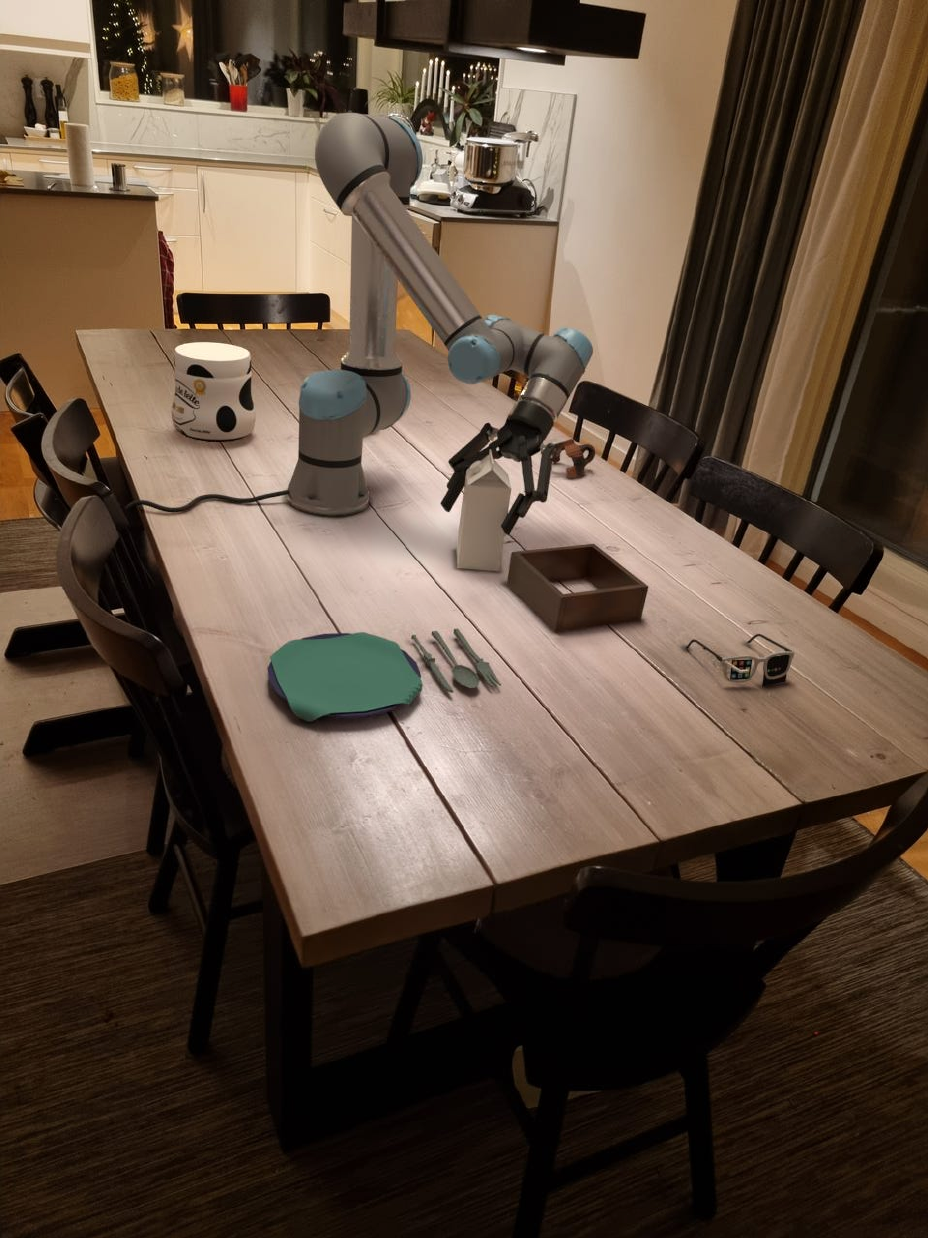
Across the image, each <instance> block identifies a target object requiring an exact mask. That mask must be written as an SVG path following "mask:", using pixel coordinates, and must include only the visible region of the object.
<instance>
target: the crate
mask: <svg viewBox="0 0 928 1238" xmlns="http://www.w3.org/2000/svg"><path fill="white" fill-rule="evenodd" d="M582 579H586V580H588V581H589V582H590V583H591V584H593V586H595V587H596V589H592V590H584V591H576V592H570V593H569V592H567V593H563V592H562V591H561V589H560V590H559V588H557V587H556V586H555V585H554V584H553V583H556V582H557V583H558V582H564V581H565V582H566V581H573V580H582ZM506 586H507V587H508V588H509V589H510V590H511V591H512V592H514V594H515V595H516V596H518V597H519V599H521V601H522V602H524V603H525V604H526V605H527V606H528V607H529V608H530V610H531V611H532V612H534V613H535V614H536V615H537V616H538V617H539V618H540V619H541V620H542V621H543V622H544V623H545V624H546V625H547V627H549V628H550V629H551V630H552V631H553V632H554V633H559V632H567V631H573V630H579V629H588V628H594V627H600V626H607V625H615V624H622V623H629V622H635V621H641V620H642V617H643V612H644V608H645V603H646V599H647V595H648V591H649V586H648V585H647V584H646V583H645V582H643V581H642V580H641V579H640V578H638V577H637V576H636V575H635V574H633V573H632V572H630V571H629V569H628V568H626V567H624V566H623V565H622V564H621V563H619V562H618V561H617V560H615V558H613V557H612V556H611V555H609V554H608V553H607V552H606V551H604V550H603V549H602V548H600V547H599V546H597V544H595V543H586V544H576V545H568V546H567V545H566V546H557V547H547V548H546V547H545V548H536V549H525V550H517V551H511V552H510V559H509V565H508V572H507V577H506Z"/></svg>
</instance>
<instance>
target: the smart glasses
mask: <svg viewBox="0 0 928 1238" xmlns="http://www.w3.org/2000/svg"><path fill="white" fill-rule="evenodd" d="M757 637H760V638H762V639H764V640H766V641H767V642H769V643H771V644H772V645H775V646H777V647H778V648H780V649H782V650H783V651H777V652H772V653H769V654H767V655H765V656H764V657H756V656H754V655H749V654H747V655H733V656H728V657H722V656H721V655H719V654H718V653H716V652H715V651H713V650H712V649H710V648H709V647H707V646H706V645H705V644H703V643H702V642H700V641H699V640H697V639H692V640H690V641H689V643H688V644H687V646H685V649H686V650H688V649H689V648H690V647H691V645H692V644H693V643H696V644H697V645H699V646H700V647H701V648H702V650H704V651H707V652H709V653H710V654H712V655H713V657H715V658H716V659H717V660H718V661H719V662H720V663H721V665H722V671H723V672H722V673H723V677H724V679H725V680H726V681H727V682H731V683H746V682H749V681H750V680H751V679H753V677H754V676H755V674H756V671H757V669H758V665H759V664H760V663H763V664H762V667H763V668H762V671H763V675H762V683H761V687H767V686H773V685H778V684H783V683H786V681H787V675H788V672H789V670H790V667H791V665H792V662H793V659H794V658H795V651H793V650H791V649H789V648H787V647H786V646H784V645H783V644H781V643H778V642H776V641H775V640H773V639H771V638H769V637H768V636H765V635H764V634H762V633H756V634H754V635H753V636H752V637H751V638H749V640H748V641H746V644H750V643H752V642H753V641H754V640H755V639H756V638H757ZM730 661H731V663H730ZM728 667H730V674H729V676H728V671H727V669H728Z"/></svg>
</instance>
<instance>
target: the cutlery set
mask: <svg viewBox="0 0 928 1238" xmlns="http://www.w3.org/2000/svg"><path fill="white" fill-rule="evenodd" d="M453 635H454V636H455V637H456V639H457V640H458V641H459V642H460V644H461V646H462V647H463V649H464V650H465V651H466V652H467V654H468V655H469V656H470V657H471V658H472V660H473V661H474V662H475V669H474V670H475V671H476V672H477V673H478V674H479V675H480V676H481V677H482V678H483V679H484V681H485V682H486V683H487V684H488V686H490V687H491V688H492V687H497V686H502V683H501V682H500V680H499V679H498V677H497V676H496V674H495V672H494V671H493V669H492V667H491V665H490V662H488V661H484V657H483V658H482V657H481V658H480V656H479V655H478V654H477V653H476V652H475V650H474V649H473V647H471V646H470V644H469V642H468V641H467V639H466V638H465V636H464V635H463V633H462V632H461V630H460V629H459V628H457V627H456V628H453ZM431 636H432V637H433V639H434V640H435V641H436V642H437V643H438V646H440V647H441V649H442V650H443V651H444V653H445V654H446V655H447V657H448V659H449V660H450V661H451V663H452V664H453V668H452V669H451V674H452V676H453V679H454V680H455V681H456V682H457V683H458V684H459V685H461V686H463V687H465V688H468V689H474V688H478V687H479V684H480V682H481V681H480V679H479V677H478V674H477V673H476V672H475V671H474V670H473V669H471V667H468V666H465V665H463V664H458V662H457V660H456V659H455V657H454V655H453V654H452V651H451V650H450V647H448V645H447V643H446V642H445V640H444V639H443V636H441V634H440V633H439V632H438V630H432V631H431ZM410 638H411V640H413V641H414V642H415V643H416V645H417V646H418V648H419V650H420V651H421V653H422V654H423V660H425V661H426V667H430V668H431V671H432V673H433V674H434V676H435V678H436V679H437V681H438V682H439V684H440V685H441V686H442V688H443V689H444V690H445V691H447V692H448V693H451V694H453V693H454V689H453V688H452V687H451V685H450V683H449V682H448V680H447V679H446V678H445V676H444V675H443V673H442V671H441V670H440V669H439V668H438V666H437V664H436V658H435V657H433V656H432V655H433V654H432V653H431V652H428V651H427V650H426V648H425V647H424V646H423V645H422V644H421V642H420V640H419V639H418V637H417V634H412V635H411V637H410ZM268 657H269V659H270V662H269V664H268V666H267V677H268V684H269V685H270V686H271V688H272V689H273V691H274V692H275V693H276V695H277V696H278V697H279V698H281V699H282V700H283V701H285V702H287V703H288V706H289V708H290V709H291V711H292V712H293V714H295V715H296V716H297V717H298V718H300V719H301V720H303V721H305V722H308V723H309V722H313V721H315V720H317V719H319V718H322V717H324V716H325V717H330V718H338V719H355V718H369V717H374V716H378V715H381V714H385V713H389V712H393V710H395V709H397V708H399V707H401V706H403V705H405V704H406V705H407V706H410V704H411V703H412V702H413V701H414V700H415V699H416V697H418V696H419V694H420V693H421V692H422V691H423V687H424V684H423V681H422V679H421V678H422V673H421V671H420V668H419V665H418V663H417V662H416V661H415V659H413V658H412V657H411V655H410V654H408V652H407V651H406V650H404V649H402V648H401V647H400V645H399V643H397V642H396V641H393V640H390V639H387V638H384V637H382V636H378V635H374V634H371V633H368V632H365V631H360V632H354V633H350V632H338V633H337V632H336V633H322V634H321V633H320V634H316V635H311V636H307V637H306V636H305V637H302V638H299V639H293V640H288V642H286V643H284V644H283V645H281V646H280V647H279V648H278V649H277V650H276V651H274V653H272V654H271V655H270V656H268Z"/></svg>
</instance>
